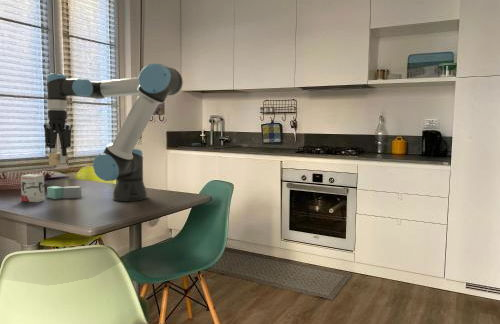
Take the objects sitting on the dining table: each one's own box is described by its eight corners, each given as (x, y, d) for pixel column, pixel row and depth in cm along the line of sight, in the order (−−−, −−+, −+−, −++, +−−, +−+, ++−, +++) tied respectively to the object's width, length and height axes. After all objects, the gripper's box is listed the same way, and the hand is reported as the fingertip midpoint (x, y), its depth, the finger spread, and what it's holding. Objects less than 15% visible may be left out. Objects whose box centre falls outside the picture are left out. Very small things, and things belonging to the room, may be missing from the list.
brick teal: (47, 197, 188) (47, 187, 187) (56, 196, 191) (55, 186, 191) (55, 199, 184) (54, 188, 183) (63, 198, 187) (63, 187, 186)
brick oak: (61, 163, 181) (60, 152, 181) (68, 163, 180) (67, 152, 179) (49, 164, 174) (48, 153, 174) (56, 165, 173) (56, 153, 173)
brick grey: (81, 196, 191) (81, 186, 190) (79, 198, 187) (78, 187, 186) (66, 196, 190) (65, 186, 189) (63, 198, 186) (62, 187, 185)
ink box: (20, 201, 177) (19, 175, 176) (29, 199, 182) (28, 173, 181) (37, 202, 175) (36, 175, 174) (45, 200, 180) (44, 174, 179)
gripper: (79, 110, 176) (80, 163, 178) (48, 110, 181) (49, 161, 183) (67, 109, 169) (68, 164, 171) (34, 109, 174) (36, 162, 176)
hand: (58, 162), depth 177 cm, fingers closed on brick oak, 4 cm apart
